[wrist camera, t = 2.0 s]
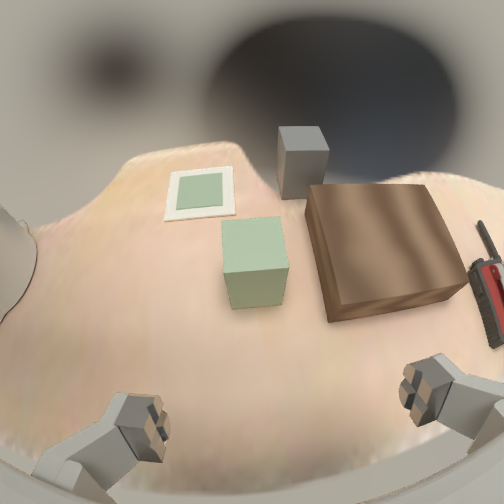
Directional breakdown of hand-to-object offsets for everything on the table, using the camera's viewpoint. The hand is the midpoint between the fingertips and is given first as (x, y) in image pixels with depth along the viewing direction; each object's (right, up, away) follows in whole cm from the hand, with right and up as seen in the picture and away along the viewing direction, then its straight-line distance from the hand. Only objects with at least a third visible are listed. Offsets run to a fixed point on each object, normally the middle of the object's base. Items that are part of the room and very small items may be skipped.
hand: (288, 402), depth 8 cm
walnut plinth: (+14, +4, +23) cm, 27 cm away
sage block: (-1, +1, +22) cm, 22 cm away
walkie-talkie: (+32, 0, +21) cm, 38 cm away
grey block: (+5, +14, +29) cm, 33 cm away
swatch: (-8, +13, +29) cm, 32 cm away
